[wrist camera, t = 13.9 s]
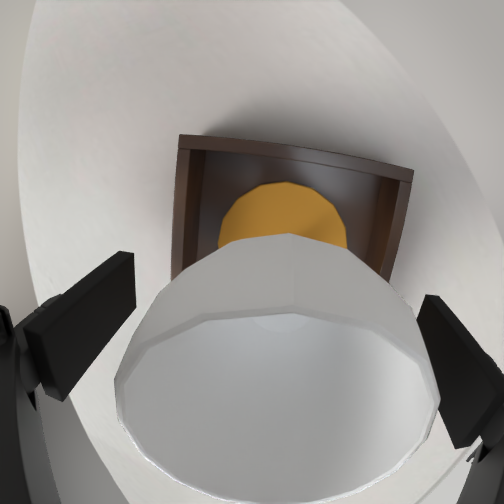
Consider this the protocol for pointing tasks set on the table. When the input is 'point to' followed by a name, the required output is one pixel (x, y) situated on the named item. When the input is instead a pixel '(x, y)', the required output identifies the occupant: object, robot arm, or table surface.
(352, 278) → the cup
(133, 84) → the table surface
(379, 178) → the holder
